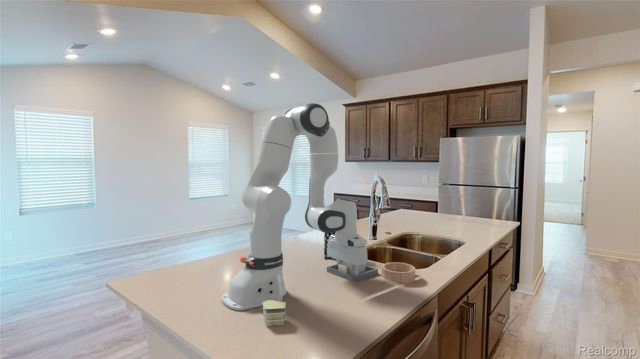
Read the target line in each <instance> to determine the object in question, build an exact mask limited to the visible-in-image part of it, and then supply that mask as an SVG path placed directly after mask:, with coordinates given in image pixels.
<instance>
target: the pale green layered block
mask: <svg viewBox="0 0 640 359" xmlns="http://www.w3.org/2000/svg"><path fill="white" fill-rule="evenodd" d="M286 304H287V302H286V301H273V300H267V301H265V302H263V306H262V310H263V313H262V318H263V320H264V321H265V322H264V325H265V326H267V327H272V326H284V325H285V322H286V321H285V320H286V317H287V313H286V310H287V306H286Z"/></svg>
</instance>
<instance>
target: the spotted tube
mask: <svg viewBox="0 0 640 359" xmlns="http://www.w3.org/2000/svg"><path fill="white" fill-rule="evenodd" d="M331 235H334V236H335V232H332V233H324V232H323V239H324V241H323V243H324V244H323V252H324V253H323V256H324V257H323V258H324V259H323V260H325V261H329V260H336V259H335V258H332V257H329V256H328V255H327V246H328V241H329V237H330V236H331Z"/></svg>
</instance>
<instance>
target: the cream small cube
mask: <svg viewBox="0 0 640 359" xmlns="http://www.w3.org/2000/svg"><path fill="white" fill-rule="evenodd" d="M342 263H343V262H342ZM350 268H351V266H350V264H349V263H343V264H339V265H338V270H339V271H342V272H344V273H347V274H349V273H348V269H350ZM350 275H351V274H350ZM352 275H354V274H352Z"/></svg>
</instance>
